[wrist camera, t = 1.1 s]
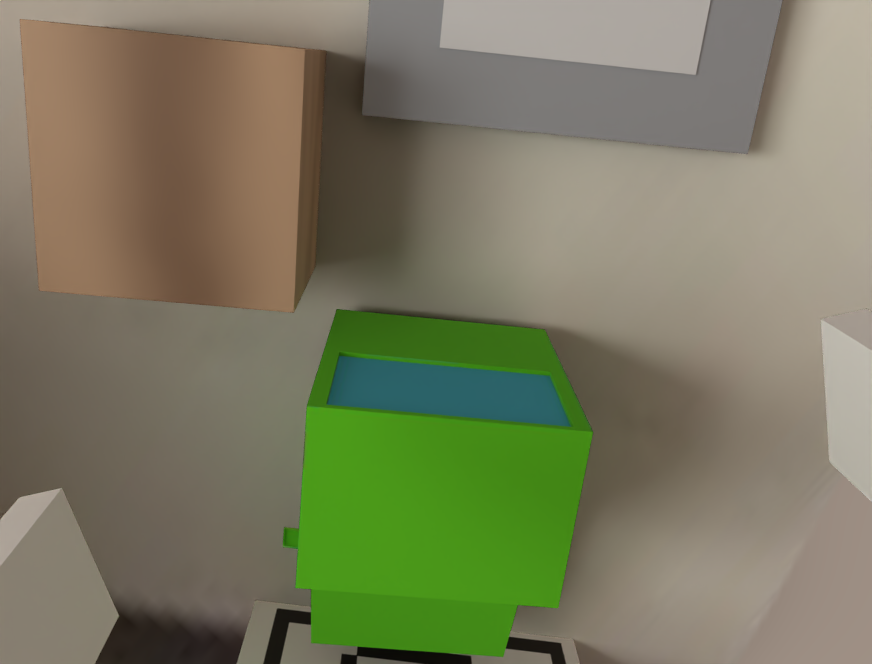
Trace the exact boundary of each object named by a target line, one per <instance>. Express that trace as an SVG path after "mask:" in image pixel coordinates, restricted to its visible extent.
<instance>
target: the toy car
mask: <svg viewBox="0 0 872 664" xmlns="http://www.w3.org/2000/svg"><path fill="white" fill-rule="evenodd" d="M592 435H593V431H592V429H591V427H590V424H589V422H588V420H587V418H586V416H585V414H584V412H583V410H582V407H581V405H580V403H579V401H578V399H577V397H576V395H575V393H574V391H573V388H572V386H571V384H570V382H569V380H568V378H567V376H566V374H565V371H564V369H563V367H562V365H561V363H560V361H559V359H558V357H557V354H556V352H555V350H554V348H553V346H552V344H551V342H550V340H549V337H548V335H547V333H546V331H545V330H544V329H533V328H523V327H513V326H503V325H493V324H483V323H472V322H462V321H452V320H442V319H432V318H422V317H411V316H401V315H391V314H381V313H371V312H360V311H350V310H340V309H337V310H336V313H335V317H334V320H333V323H332V326H331V330H330V333H329V336H328V339H327V342H326V346H325V349H324V352H323V355H322V359H321V362H320V365H319V368H318V371H317V375H316V378H315V381H314V384H313V388H312V391H311V394H310V397H309V400H308V404H307V410H306V426H305V442H304V458H303V474H302V490H301V506H300V522H299V529H297V528H287V527H284V536H283V547H285V548H295V549H298V554H297V570H296V586H295V588H301V589H311V643H316V644H329V645H343V646H357V647H371V648H385V649H398V650H412V651H426V652H440V653H454V654H468V655H481V656H495V657H503V656H504V653H505V649H506V646H507V642H508V638H509V635H510V631H511V628H512V624H513V621H514V617H515V614H516V610H517V606H518V605H523V606H536V607H549V608H558V607H559V601H560V596H561V591H562V586H563V581H564V576H565V571H566V566H567V561H568V556H569V551H570V546H571V541H572V536H573V531H574V526H575V521H576V516H577V511H578V506H579V501H580V495H581V490H582V485H583V480H584V475H585V470H586V465H587V460H588V455H589V450H590V445H591V440H592Z"/></svg>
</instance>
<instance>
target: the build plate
mask: <svg viewBox="0 0 872 664" xmlns="http://www.w3.org/2000/svg"><path fill="white" fill-rule="evenodd" d="M782 1H783V0H369V16H368V31H367V46H366V61H365V76H364V91H363V106H362V115H367V116H377V117H386V118H396V119H406V120H416V121H426V122H436V123H446V124H455V125H465V126H475V127H485V128H495V129H505V130H515V131H524V132H534V133H544V134H554V135H564V136H574V137H584V138H593V139H603V140H613V141H623V142H633V143H643V144H653V145H662V146H672V147H682V148H692V149H702V150H712V151H722V152H732V153H741V154H748V150H749V146H750V141H751V137H752V133H753V128H754V124H755V119H756V115H757V111H758V106H759V102H760V97H761V93H762V89H763V84H764V80H765V75H766V71H767V67H768V62H769V58H770V54H771V49H772V45H773V40H774V36H775V32H776V27H777V23H778V18H779V14H780V10H781V5H782Z"/></svg>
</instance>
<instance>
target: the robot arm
mask: <svg viewBox="0 0 872 664" xmlns="http://www.w3.org/2000/svg"><path fill="white" fill-rule="evenodd" d="M821 332H822V349H823V366H824V382H825V399H826V416H827V433H828V449H829V462H830V463H831V464H832V465H833V466H834V467H835V468H836V469H837V470H838V471H839V472H840V473H841V474H842V475H844V476H845V477H846V478H847V479H848V480H849V481H850V482H851V483H852V484H853V485H854V486H855V487H856V488H857V489H858V490H859V491H860V492H861V493H863V494H864V495H865V496H866V497H867V498H868V499H869V500H870V501H871V502H872V311H870V310H869V309H867V308H866V309H862V310H857V311H853V312H849V313H844V314H840V315H835V316H831V317H826V318H822V319H821ZM118 617H119V615H118V612H117V610H116V608H115V606H114V603H113V601H112V599H111V597H110V594H109V592H108V590H107V588H106V586H105V583H104V581H103V579H102V577H101V574H100V572H99V570H98V568H97V565H96V563H95V561H94V559H93V556H92V554H91V552H90V550H89V547H88V545H87V543H86V541H85V538H84V536H83V534H82V532H81V529H80V527H79V525H78V523H77V520H76V518H75V516H74V514H73V511H72V509H71V507H70V505H69V502H68V500H67V498H66V496H65V493H64V491H63V489H62V488H59V489H55V490H50V491H46V492H41V493H37V494H32V495H28V496H23V497H19V498H18V499H17V501H16V502H15V503H14V504H13V505H12V506H11V508H10V509H9V510H8V511H7V512H6V513H5V514H4V516H3V517H2V518H1V519H0V664H95V662H96V660H97V658H98V656H99V654H100V652H101V650H102V648H103V646H104V644H105V642H106V640H107V638H108V637H109V635H110V633H111V631H112V629H113V627H114V625H115V623H116V621H117V619H118Z"/></svg>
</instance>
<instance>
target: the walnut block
mask: <svg viewBox="0 0 872 664" xmlns="http://www.w3.org/2000/svg"><path fill="white" fill-rule="evenodd" d="M20 30H21V44H22V59H23V73H24V87H25V101H26V115H27V129H28V144H29V158H30V172H31V186H32V200H33V214H34V229H35V243H36V257H37V271H38V285H39V291H49V292H61V293H72V294H84V295H95V296H107V297H118V298H130V299H142V300H153V301H165V302H176V303H188V304H200V305H211V306H223V307H234V308H246V309H258V310H269V311H281V312H292V313H294V311H295V309H296V307H297V305H298V303H299V300H300V298H301V296H302V294H303V292H304V290H305V288H306V285H307V283H308V281H309V279H310V277H311V275H312V273H313V270H314V268H315V263H316V243H317V224H318V204H319V184H320V165H321V145H322V125H323V106H324V86H325V66H326V51H325V50H315V49H306V48H296V47H287V46H277V45H268V44H259V43H249V42H240V41H230V40H221V39H212V38H202V37H193V36H183V35H174V34H164V33H155V32H146V31H136V30H127V29H117V28H108V27H99V26H88V25H77V24H67V23H56V22H45V21H35V20H24V19H20Z"/></svg>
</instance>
